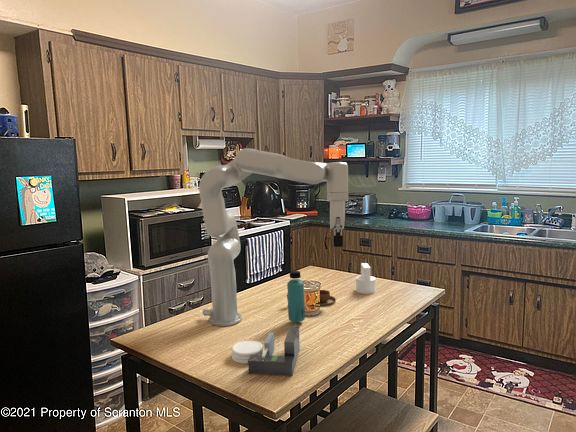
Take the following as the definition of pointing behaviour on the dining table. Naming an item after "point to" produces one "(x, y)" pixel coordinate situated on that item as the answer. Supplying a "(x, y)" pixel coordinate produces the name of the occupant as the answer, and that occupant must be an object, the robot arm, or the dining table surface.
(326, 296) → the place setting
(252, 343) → the white round tin
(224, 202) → the robot arm
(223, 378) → the dining table surface
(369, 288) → the cylinder with rectangular tab
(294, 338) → the frame
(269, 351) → the gauge plunger
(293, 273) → the beverage bottle
